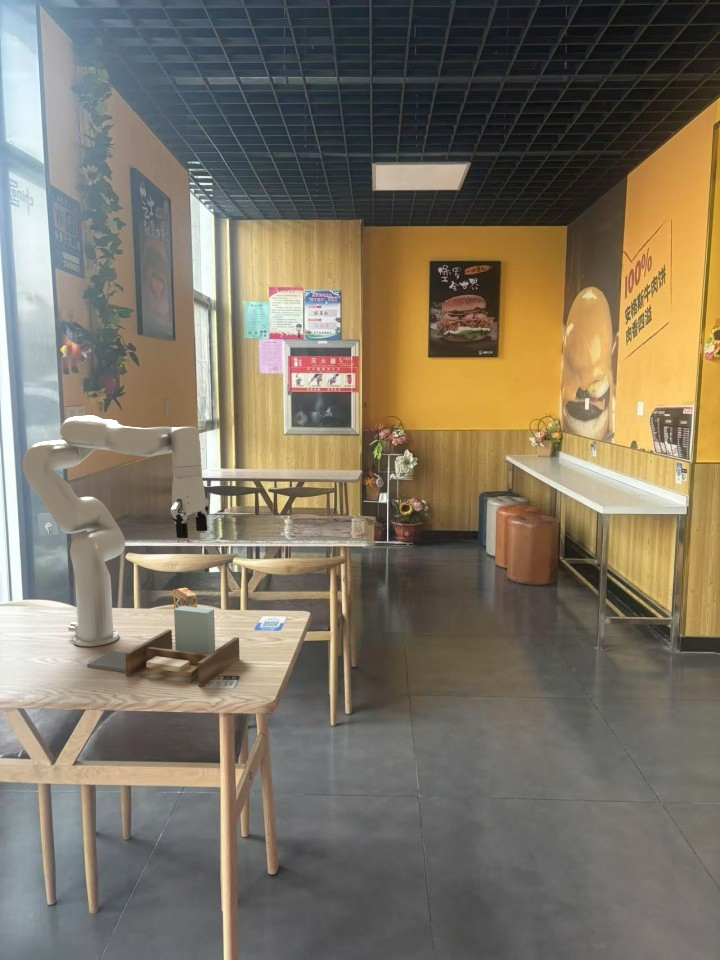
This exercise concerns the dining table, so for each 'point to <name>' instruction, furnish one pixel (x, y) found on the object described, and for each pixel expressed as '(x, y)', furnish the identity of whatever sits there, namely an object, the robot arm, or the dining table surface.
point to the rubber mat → (110, 661)
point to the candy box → (184, 598)
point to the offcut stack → (171, 669)
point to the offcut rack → (183, 656)
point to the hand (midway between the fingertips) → (192, 534)
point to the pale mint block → (194, 629)
